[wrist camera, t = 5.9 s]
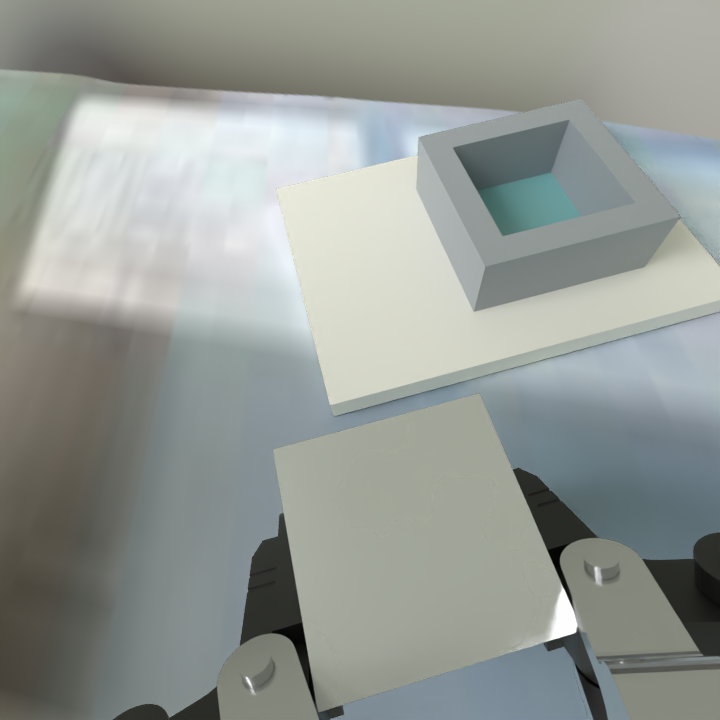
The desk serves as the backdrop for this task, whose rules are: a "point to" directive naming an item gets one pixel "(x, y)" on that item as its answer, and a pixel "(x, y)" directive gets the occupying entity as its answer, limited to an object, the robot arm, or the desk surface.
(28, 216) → the desk surface
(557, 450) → the desk surface
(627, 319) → the docking board
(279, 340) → the desk surface
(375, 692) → the grainy grey brick
